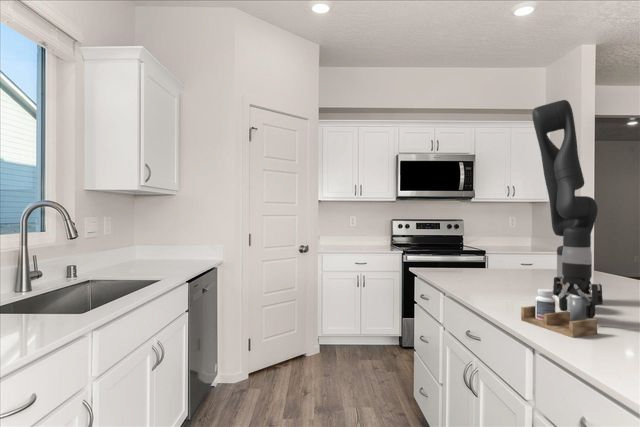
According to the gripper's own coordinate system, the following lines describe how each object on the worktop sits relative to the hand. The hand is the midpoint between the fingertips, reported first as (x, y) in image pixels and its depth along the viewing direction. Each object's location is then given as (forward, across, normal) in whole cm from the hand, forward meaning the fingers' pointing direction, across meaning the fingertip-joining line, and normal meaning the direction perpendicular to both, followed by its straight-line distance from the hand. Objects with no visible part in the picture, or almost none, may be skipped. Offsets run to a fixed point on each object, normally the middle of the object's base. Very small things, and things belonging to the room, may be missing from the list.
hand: (576, 314), depth 117 cm
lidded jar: (+2, -11, +11) cm, 16 cm away
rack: (+2, +2, -10) cm, 11 cm away
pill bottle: (+1, -2, -10) cm, 11 cm away
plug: (+2, 0, 0) cm, 2 cm away
